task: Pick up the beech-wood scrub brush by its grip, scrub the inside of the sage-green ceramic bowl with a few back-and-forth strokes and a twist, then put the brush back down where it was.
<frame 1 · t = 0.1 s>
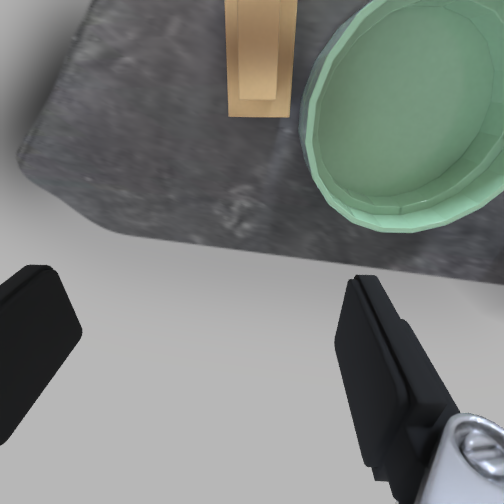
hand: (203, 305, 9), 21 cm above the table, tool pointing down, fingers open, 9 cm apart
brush: (260, 44, 22), on the table
bowl: (395, 115, 25), on the table
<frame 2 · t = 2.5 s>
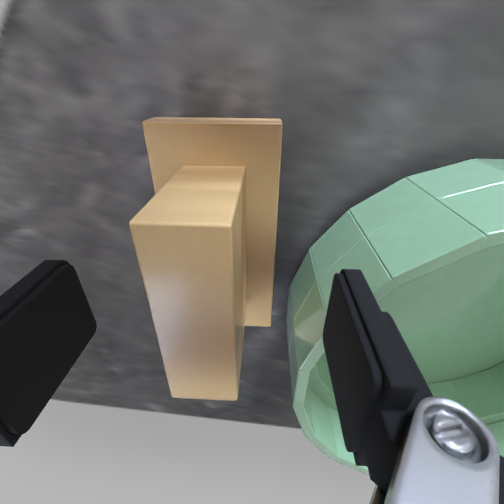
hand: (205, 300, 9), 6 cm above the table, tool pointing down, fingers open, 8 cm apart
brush: (226, 221, 15), on the table
bowl: (429, 302, 17), on the table
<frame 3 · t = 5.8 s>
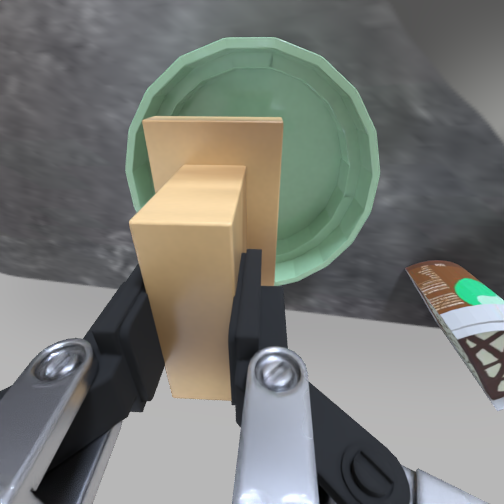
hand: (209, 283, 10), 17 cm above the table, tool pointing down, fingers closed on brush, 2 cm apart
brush: (226, 220, 14), point 11 cm above the table, touching gripper
food container: (448, 282, 30), on the table
bowl: (253, 168, 24), on the table
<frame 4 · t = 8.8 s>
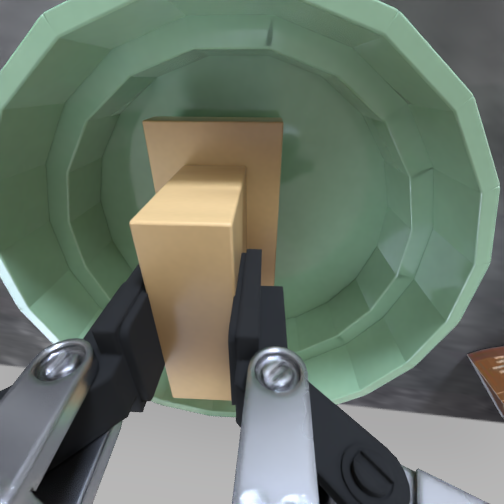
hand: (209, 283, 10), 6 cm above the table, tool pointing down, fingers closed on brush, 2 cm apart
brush: (226, 220, 15), point 1 cm above the table, touching gripper
bowl: (242, 218, 15), on the table
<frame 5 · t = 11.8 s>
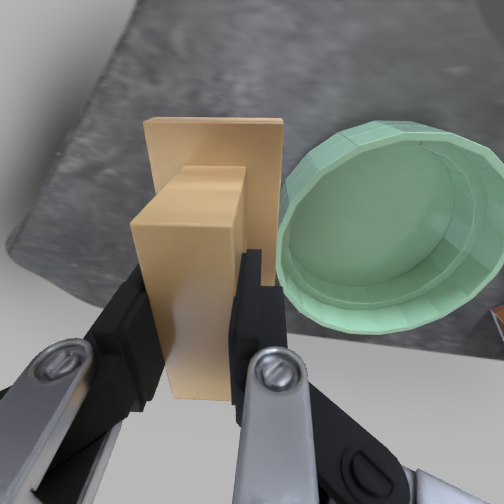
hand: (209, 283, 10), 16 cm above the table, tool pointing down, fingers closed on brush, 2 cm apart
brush: (227, 221, 15), point 11 cm above the table, touching gripper
bowl: (365, 220, 26), on the table
when the fingers open (5 cm above the table, at t = 14.4 s): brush stays where it is, on the table.
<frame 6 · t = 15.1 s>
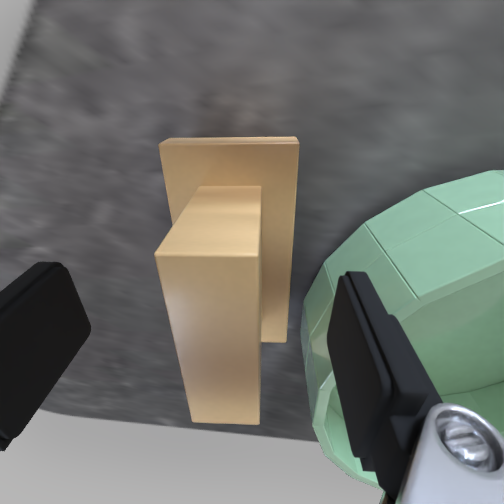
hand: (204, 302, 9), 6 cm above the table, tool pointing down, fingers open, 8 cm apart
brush: (239, 236, 14), on the table
bowl: (446, 313, 16), on the table
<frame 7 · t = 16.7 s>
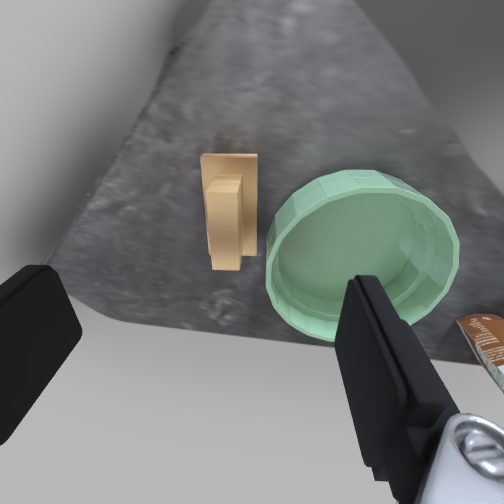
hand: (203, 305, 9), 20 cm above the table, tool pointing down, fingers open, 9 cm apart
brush: (233, 201, 29), on the table
food container: (491, 329, 36), on the table
bowl: (343, 246, 31), on the table
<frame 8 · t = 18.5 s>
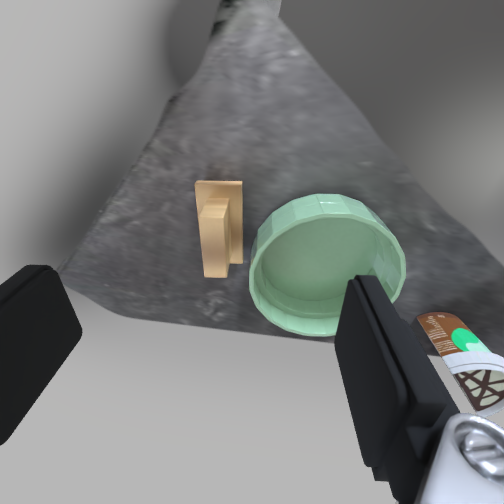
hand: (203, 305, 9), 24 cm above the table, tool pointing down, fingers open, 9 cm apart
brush: (223, 218, 34), on the table
food container: (447, 325, 42), on the table
bowl: (317, 255, 36), on the table
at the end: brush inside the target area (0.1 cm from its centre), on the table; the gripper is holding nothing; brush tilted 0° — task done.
